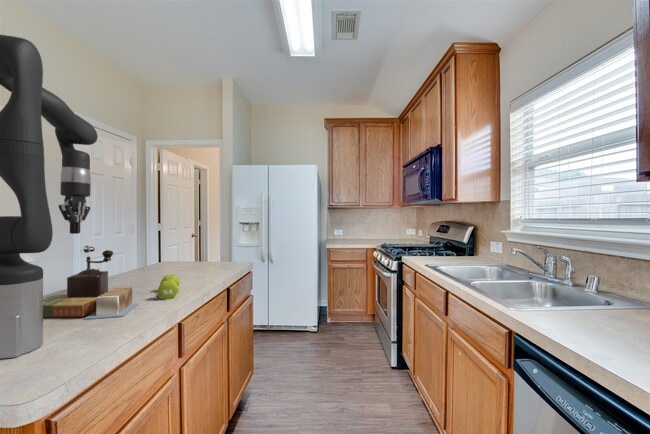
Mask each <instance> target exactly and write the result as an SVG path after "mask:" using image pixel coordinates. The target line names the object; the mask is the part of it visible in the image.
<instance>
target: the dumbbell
mask: <svg viewBox="0 0 650 434" xmlns="http://www.w3.org/2000/svg"><path fill="white" fill-rule="evenodd" d="M178 277H179V276H177V275H176V274H166V275H164V276H163V278H162V279H161V281H160V283H159V286H158V287H157V290H156V293H157V295H158V296H159V298H160V299H161V300H172V299H174V298H175V297H176V296H177V294H178V293H179V291H180V287H179V286H180V283H181V280H180V279H179V278H178Z"/></svg>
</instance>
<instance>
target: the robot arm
mask: <svg viewBox="0 0 650 434" xmlns="http://www.w3.org/2000/svg"><path fill="white" fill-rule="evenodd" d="M43 67H44V66H43V60H42V57H41V54H40V52H39V50H38V48H37V47H36V45H35V44H34V43H33V42H31V41H30V40H28V39H26V38H23V37H18V36H15V35H14V36H12V35H5V34H0V86H2V87H3V88H4V89H6V90H8V92H10V93H11V94H10V96H9V98H8V101H7V102H6V104H5V105H4V106H3V107H2V109H1V110H0V178H1V179H2V180H3V181H4V183H6V185H7V186H8V187H9V188H10V190H11V191H12V192H13V193H14V195H15V197H16V198H17V202H18V205H19V209H20V215H19V216H17V215H16V216H15V215H9V216H8V215H7V216H6V215H5V216H3V215H2V216H1V215H0V360H1V359H9V358H11V359H12V358H17V357H19V356H21V355H25V354H27V353H30V352H33V351H35V350H37V349H39V348H41V347H42V346H43V344H44V317H43V303H44V269H43V267H41V266H40V265H37V264H33V263H30V262H29V261H28V262H27V261H25V260H24V258H22V257H21V254H37V253H38V254H39V253H43V252H45V251H47V250H48V249H49V247H50V245H52V244H51V243H52V241H53V224H52V219H51V218H52V217H51V212H50V207H49V201H48V197H47V196H48V195H47V187H46V186H47V185H46V173H45V147H44V137H43V126H42V123H43V122H42V117H43V119H45V121H46V122H47V123H49V124H50V125H51V126H52V127H53V128H54V133H55V138H56V139H57V143H58V145H59V149H60V153H61V156H62V157H61V170H60V171H61V172H60V185H59V186H60V188H59V189H60V190H59V191H60V193H59V194H60V195H61V196H64V199H63V202H64V203H63V204H59V205H58V209H59V212H60V213H61V215H62V218H63V219H64V220H65V221H68V222H67V223H69V234H72V235H74V234H76V235H77V234H80V233H81V223H82V222H83V221H86V218H87V217H88V215H89V212H90V210H91V206H87V201H86V198H87V197H88V198H89V197H90V196H91V183H92V181H91V156H90V154H89V153H88V152H85V151H82V150H77V149H75V147H74V145H83V146H90V145H94V144H95V143H96V142H97V140H98V138H99V137H98V133H97V130H96V128H95V127H94V125H92V124H91V123H89V121H87V120H85V119H84V118H82V117H81V116H79V115H78V114H76V113H75V112H74V111H73V109H71V108H70V107H69V106H68V104H67V103H66V102H65V101H64V100H62V98H60V97H59V96H58V95H56V94H54V92H51V91H50V90H48V89H46V88H44V87H43V81H44V69H43Z"/></svg>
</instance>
